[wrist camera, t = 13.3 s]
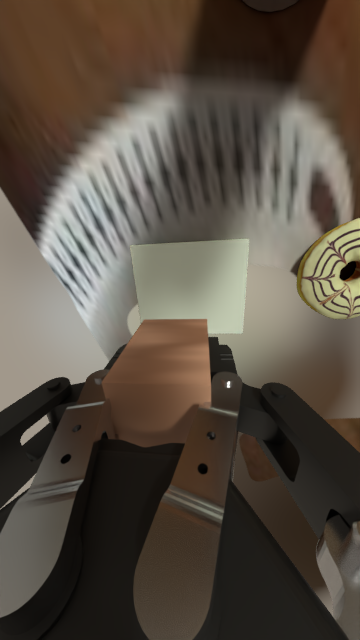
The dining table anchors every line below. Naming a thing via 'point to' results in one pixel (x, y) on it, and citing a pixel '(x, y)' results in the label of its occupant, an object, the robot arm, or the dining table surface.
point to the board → (193, 282)
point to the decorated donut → (332, 273)
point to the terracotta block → (160, 381)
